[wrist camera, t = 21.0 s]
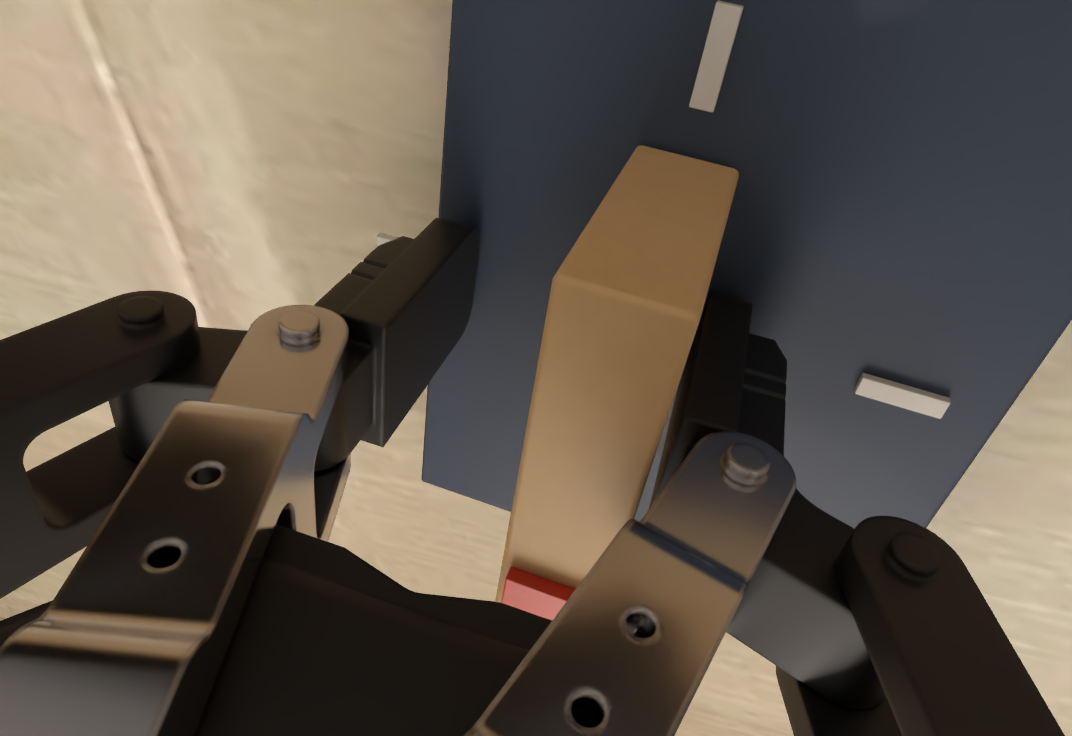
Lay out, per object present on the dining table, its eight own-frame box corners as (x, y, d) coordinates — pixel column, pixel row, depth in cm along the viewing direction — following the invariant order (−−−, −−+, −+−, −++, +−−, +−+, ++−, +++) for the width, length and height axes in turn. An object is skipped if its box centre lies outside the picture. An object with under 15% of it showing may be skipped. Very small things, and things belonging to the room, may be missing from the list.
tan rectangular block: (637, 141, 11) (543, 284, 8) (741, 167, 11) (697, 329, 7) (571, 431, 15) (487, 623, 11) (648, 455, 15) (588, 661, 11)
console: (468, -148, 13) (380, -147, 10) (1179, -11, 11) (1284, 32, 8) (430, 393, 20) (374, 470, 17) (850, 530, 18) (854, 639, 15)
